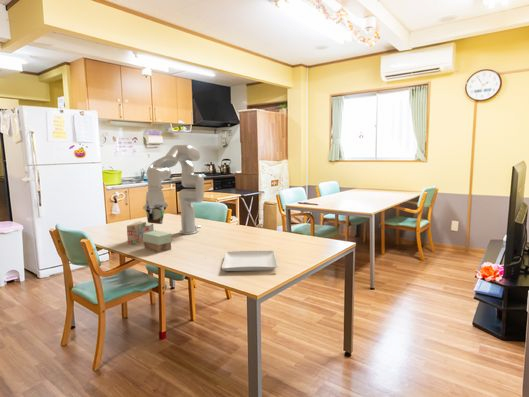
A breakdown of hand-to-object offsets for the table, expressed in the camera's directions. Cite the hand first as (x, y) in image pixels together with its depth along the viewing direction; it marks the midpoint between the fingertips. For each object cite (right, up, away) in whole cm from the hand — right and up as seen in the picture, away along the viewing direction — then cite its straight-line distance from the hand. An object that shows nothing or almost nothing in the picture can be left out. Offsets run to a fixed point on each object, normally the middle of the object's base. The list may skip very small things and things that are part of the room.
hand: (156, 218), depth 201 cm
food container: (0, -2, +1) cm, 3 cm away
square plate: (+57, -22, -26) cm, 67 cm away
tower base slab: (0, -19, +3) cm, 19 cm away
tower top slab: (0, -14, +2) cm, 14 cm away
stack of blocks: (-17, -16, +23) cm, 33 cm away
